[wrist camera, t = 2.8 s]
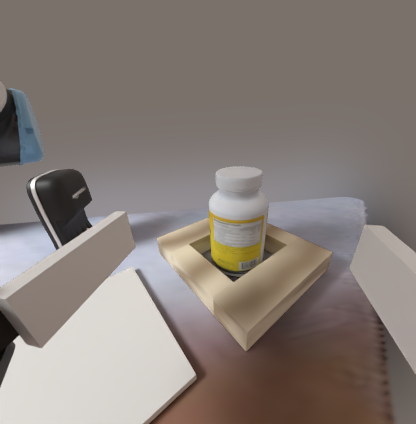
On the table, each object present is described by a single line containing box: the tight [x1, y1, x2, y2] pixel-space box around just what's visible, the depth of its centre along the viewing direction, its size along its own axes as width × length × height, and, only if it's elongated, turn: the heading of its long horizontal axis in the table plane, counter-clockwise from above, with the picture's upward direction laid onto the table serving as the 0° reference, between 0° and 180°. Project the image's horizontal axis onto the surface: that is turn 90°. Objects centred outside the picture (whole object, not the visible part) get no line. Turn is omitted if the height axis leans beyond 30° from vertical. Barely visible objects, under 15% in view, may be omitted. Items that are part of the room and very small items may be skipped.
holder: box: [157, 217, 333, 351], centre depth 24 cm, size 16×14×2 cm
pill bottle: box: [209, 166, 269, 277], centre depth 22 cm, size 6×6×12 cm
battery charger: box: [27, 169, 92, 250], centre depth 26 cm, size 7×4×11 cm, turn 8°
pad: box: [0, 267, 197, 424], centre depth 15 cm, size 14×12×1 cm
